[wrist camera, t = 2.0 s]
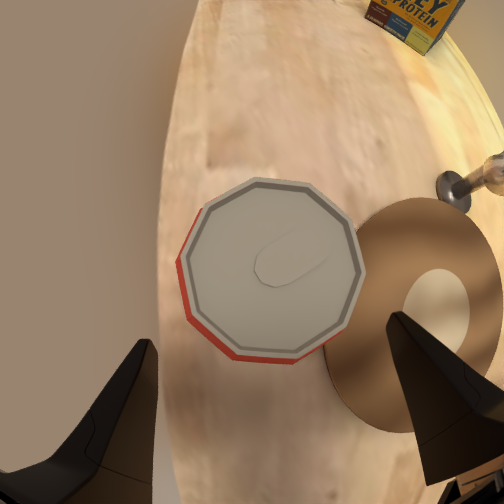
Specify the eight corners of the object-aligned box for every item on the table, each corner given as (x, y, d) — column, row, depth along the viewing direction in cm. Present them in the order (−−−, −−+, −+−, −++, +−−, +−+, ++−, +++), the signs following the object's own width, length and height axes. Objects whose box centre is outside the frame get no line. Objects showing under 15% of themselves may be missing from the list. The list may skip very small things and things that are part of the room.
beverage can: (319, 298, 19) (413, 295, 7) (241, 345, 19) (232, 414, 7) (275, 226, 20) (309, 132, 8) (197, 271, 19) (127, 230, 8)
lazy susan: (506, 355, 18) (512, 356, 17) (359, 466, 16) (362, 471, 15) (460, 180, 21) (465, 176, 20) (282, 246, 19) (283, 243, 19)
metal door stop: (438, 165, 21) (495, 119, 12) (467, 188, 21) (526, 151, 12) (433, 202, 21) (501, 161, 11) (464, 224, 20) (532, 194, 11)
